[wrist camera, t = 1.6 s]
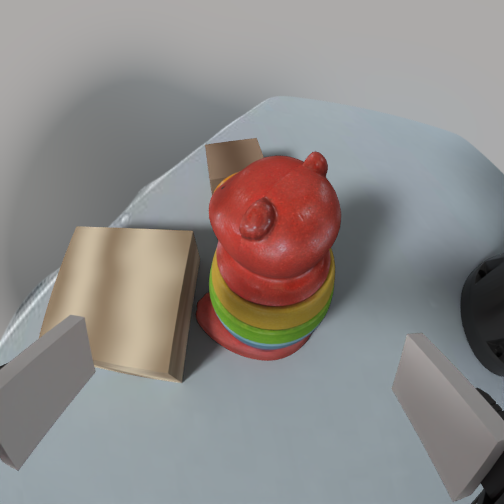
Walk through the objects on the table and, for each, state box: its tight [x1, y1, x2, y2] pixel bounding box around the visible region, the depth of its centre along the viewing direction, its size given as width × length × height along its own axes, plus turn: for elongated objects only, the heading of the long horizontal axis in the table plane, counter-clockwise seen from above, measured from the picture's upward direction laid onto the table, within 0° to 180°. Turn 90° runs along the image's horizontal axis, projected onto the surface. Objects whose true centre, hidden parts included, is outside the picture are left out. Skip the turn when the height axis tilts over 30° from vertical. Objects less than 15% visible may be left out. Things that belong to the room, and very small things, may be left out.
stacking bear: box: [196, 152, 341, 361], centre depth 22 cm, size 11×10×18 cm
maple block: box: [39, 227, 200, 383], centre depth 27 cm, size 13×13×5 cm
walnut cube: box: [205, 138, 264, 195], centre depth 35 cm, size 6×6×6 cm
